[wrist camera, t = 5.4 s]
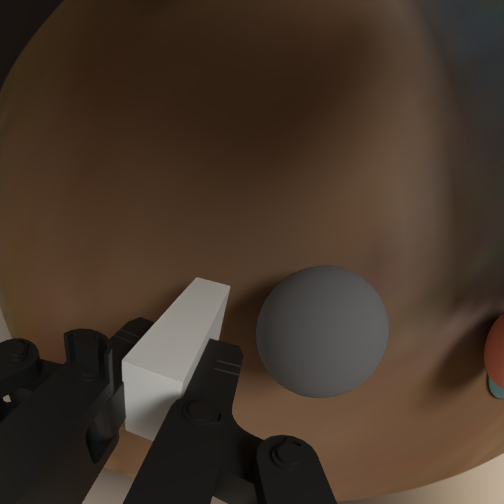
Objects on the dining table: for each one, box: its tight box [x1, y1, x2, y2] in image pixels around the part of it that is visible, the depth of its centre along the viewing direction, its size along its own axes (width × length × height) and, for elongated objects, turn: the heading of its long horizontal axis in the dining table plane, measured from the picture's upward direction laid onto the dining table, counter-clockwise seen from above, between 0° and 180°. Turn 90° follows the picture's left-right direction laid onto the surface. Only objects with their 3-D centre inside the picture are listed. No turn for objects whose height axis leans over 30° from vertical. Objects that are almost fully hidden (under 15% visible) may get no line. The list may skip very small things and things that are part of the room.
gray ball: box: [256, 266, 389, 398], centre depth 11 cm, size 6×6×6 cm
